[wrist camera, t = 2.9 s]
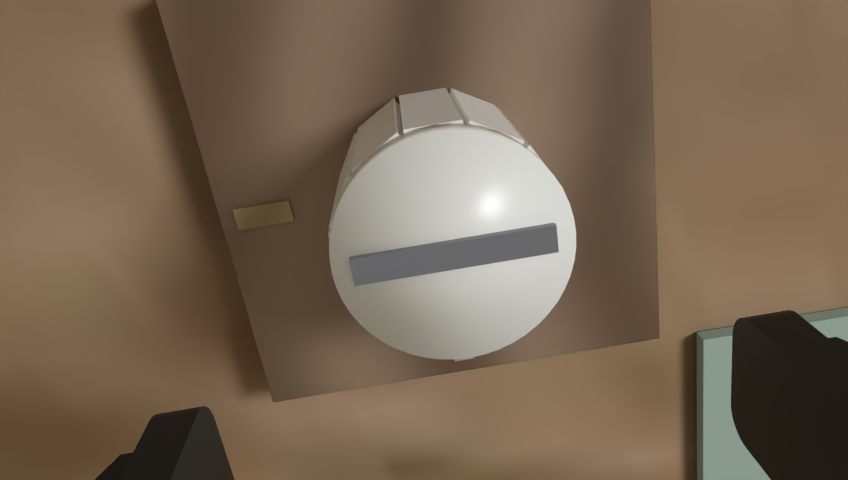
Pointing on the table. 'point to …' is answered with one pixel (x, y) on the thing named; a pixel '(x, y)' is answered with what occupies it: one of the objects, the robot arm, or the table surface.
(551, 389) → the table surface
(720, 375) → the sage mat
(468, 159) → the cap
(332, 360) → the post base
